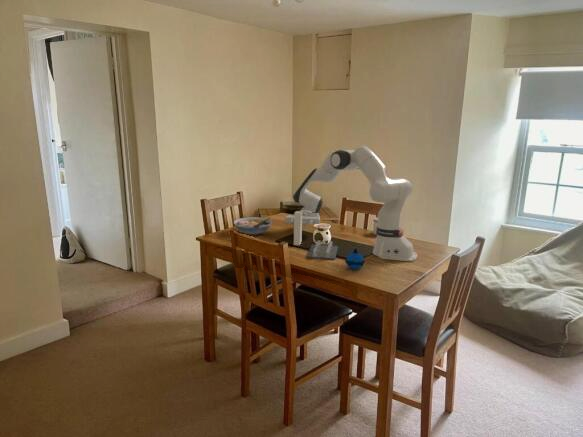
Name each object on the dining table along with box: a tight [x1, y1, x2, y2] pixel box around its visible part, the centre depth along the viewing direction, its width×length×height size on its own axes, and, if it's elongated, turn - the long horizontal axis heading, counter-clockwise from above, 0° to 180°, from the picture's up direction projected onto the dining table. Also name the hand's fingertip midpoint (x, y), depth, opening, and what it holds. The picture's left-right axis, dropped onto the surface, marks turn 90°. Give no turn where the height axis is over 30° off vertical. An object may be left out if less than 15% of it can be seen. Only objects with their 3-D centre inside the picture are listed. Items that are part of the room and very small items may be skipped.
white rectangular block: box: [293, 210, 303, 246], centre depth 239 cm, size 5×4×18 cm
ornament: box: [345, 248, 365, 271], centre depth 202 cm, size 9×9×10 cm
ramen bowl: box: [233, 216, 273, 236], centre depth 258 cm, size 25×23×8 cm
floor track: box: [306, 239, 339, 261], centre depth 226 cm, size 20×14×4 cm
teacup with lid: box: [372, 216, 378, 236], centre depth 263 cm, size 12×9×12 cm
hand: (300, 222), depth 247 cm, fingers open, 8 cm apart
